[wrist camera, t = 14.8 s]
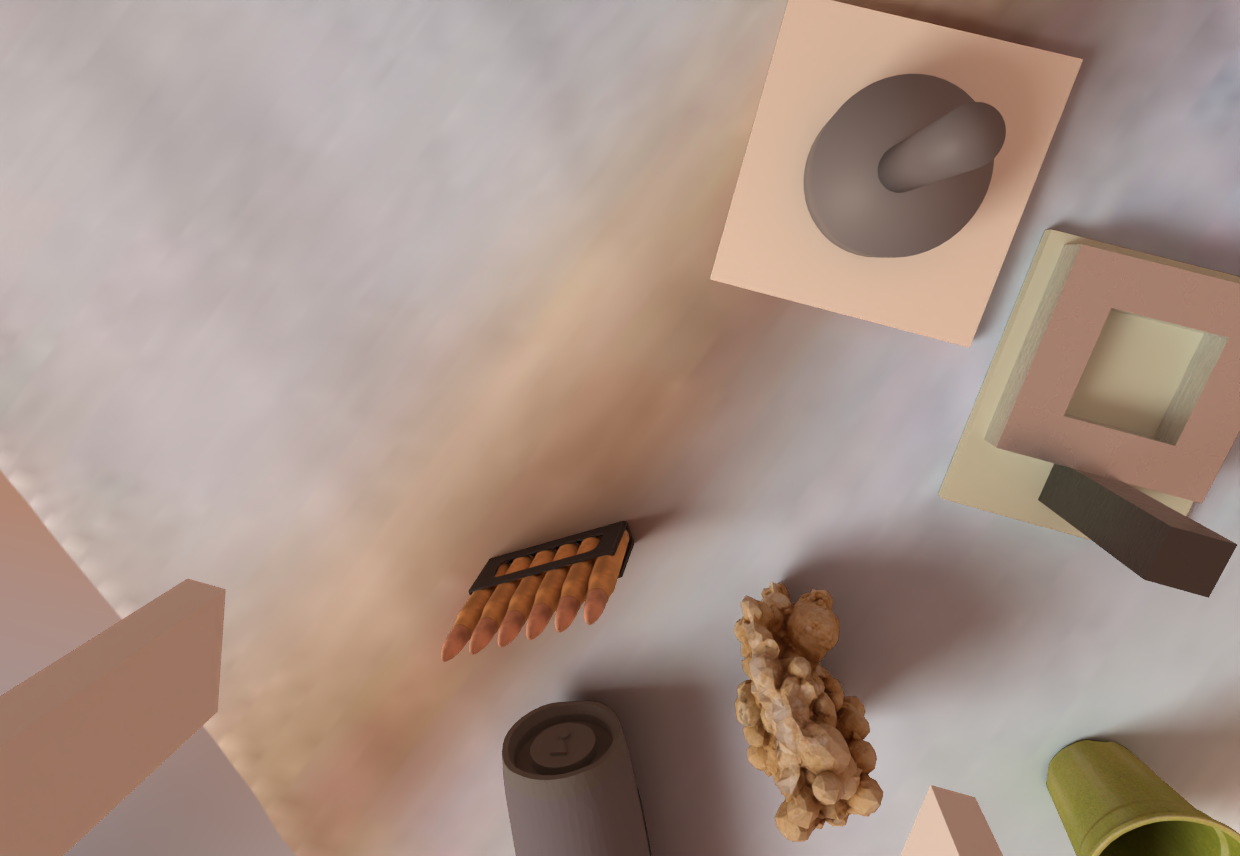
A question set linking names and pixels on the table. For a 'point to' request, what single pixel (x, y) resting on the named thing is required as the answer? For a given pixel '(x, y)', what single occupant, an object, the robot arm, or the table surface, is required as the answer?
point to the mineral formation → (802, 713)
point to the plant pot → (1128, 807)
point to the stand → (890, 167)
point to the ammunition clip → (541, 588)
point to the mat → (1106, 393)
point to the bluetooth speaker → (572, 784)
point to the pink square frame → (1109, 456)
